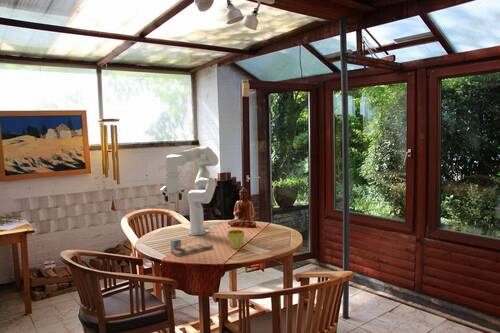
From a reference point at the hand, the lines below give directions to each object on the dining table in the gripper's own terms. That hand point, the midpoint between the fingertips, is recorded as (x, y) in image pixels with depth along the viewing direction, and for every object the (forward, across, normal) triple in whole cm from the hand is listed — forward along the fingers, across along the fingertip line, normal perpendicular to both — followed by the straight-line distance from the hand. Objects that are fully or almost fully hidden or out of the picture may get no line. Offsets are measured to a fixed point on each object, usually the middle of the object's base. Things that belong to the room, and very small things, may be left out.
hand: (173, 200), depth 267 cm
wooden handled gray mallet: (+28, +8, +21) cm, 36 cm away
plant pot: (+28, -24, +36) cm, 52 cm away
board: (+28, 0, +24) cm, 37 cm away
